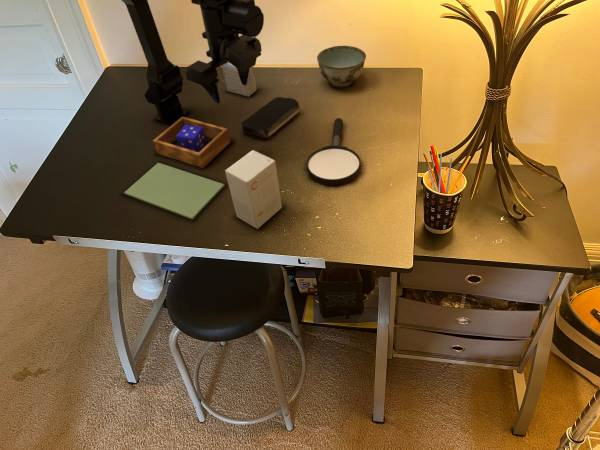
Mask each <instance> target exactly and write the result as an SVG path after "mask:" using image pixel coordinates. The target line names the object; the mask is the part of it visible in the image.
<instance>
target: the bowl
mask: <svg viewBox="0 0 600 450" xmlns="http://www.w3.org/2000/svg"><path fill="white" fill-rule="evenodd" d="M366 59H367V54H366V52H365V51H364V50H362V49H361V48H358V47H356V46H352V45H334V46H330V47H328V48H325V49H323V50H321V51H320V52H318V54H317V56H316V61H317V63H318V69H319V71H320V74H321V76H322V77H323V78H324V79H325V81H327V82H329V84H331V85H332V86H333V87H335V88H346V87H349V86H351V85H352V83H353V82H354V81H356V80H357V79H359V77H360V76H361V74H362V72H363V69H364V66H365V61H366Z"/></svg>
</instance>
